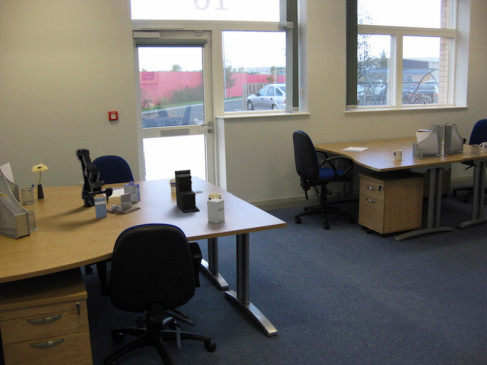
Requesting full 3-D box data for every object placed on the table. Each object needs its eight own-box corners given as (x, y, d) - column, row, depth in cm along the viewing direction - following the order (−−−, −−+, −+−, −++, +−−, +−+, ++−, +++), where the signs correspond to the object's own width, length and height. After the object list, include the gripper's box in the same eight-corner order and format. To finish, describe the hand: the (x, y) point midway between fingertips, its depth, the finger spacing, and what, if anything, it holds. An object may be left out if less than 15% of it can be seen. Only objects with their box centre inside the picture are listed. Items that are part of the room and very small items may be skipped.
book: (96, 217, 288) (94, 198, 286) (105, 215, 291) (104, 197, 289) (97, 218, 286) (95, 199, 283) (107, 216, 289) (105, 198, 286)
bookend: (200, 211, 295) (198, 175, 290) (183, 213, 291) (181, 176, 287) (192, 203, 316) (190, 169, 312) (176, 205, 313) (174, 170, 308)
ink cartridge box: (140, 200, 329) (139, 180, 326) (138, 202, 324) (136, 182, 321) (127, 200, 330) (125, 180, 327) (124, 202, 325) (122, 182, 322)
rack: (104, 211, 302) (102, 194, 300) (119, 206, 314) (118, 190, 312) (125, 214, 294) (123, 197, 291) (140, 208, 306) (138, 192, 303)
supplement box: (218, 223, 267) (217, 202, 265) (207, 221, 271) (206, 200, 269) (225, 220, 274) (224, 199, 271) (214, 218, 277) (214, 198, 275)
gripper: (80, 178, 284) (85, 199, 277) (110, 174, 293) (117, 195, 286) (79, 188, 292) (84, 209, 285) (108, 185, 301) (114, 204, 294)
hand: (100, 204), depth 287 cm, fingers open, 9 cm apart
